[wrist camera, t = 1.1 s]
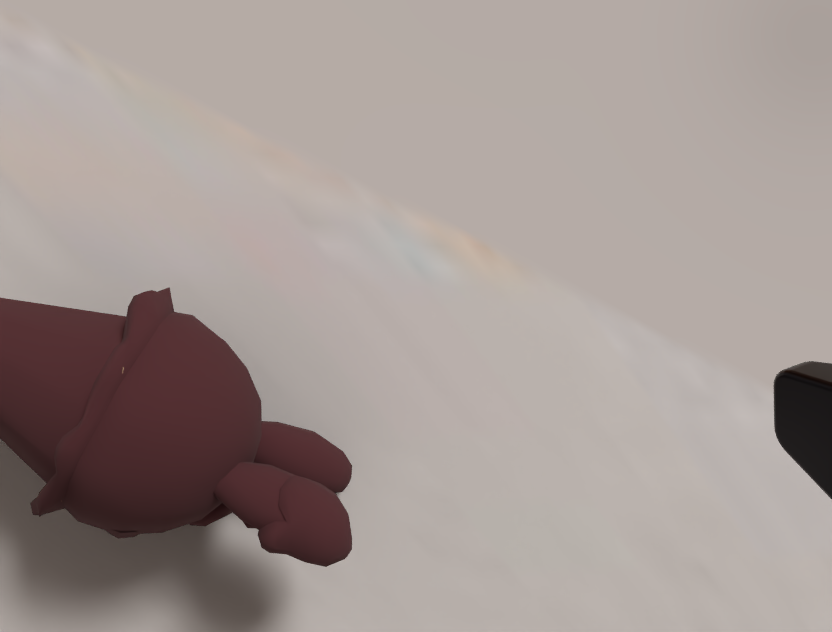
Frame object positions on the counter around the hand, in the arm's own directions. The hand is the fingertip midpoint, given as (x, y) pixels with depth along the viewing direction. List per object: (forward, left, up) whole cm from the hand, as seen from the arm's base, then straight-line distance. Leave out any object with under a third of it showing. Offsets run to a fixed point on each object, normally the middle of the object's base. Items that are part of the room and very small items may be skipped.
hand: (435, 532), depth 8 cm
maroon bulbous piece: (+1, +7, -17) cm, 18 cm away
